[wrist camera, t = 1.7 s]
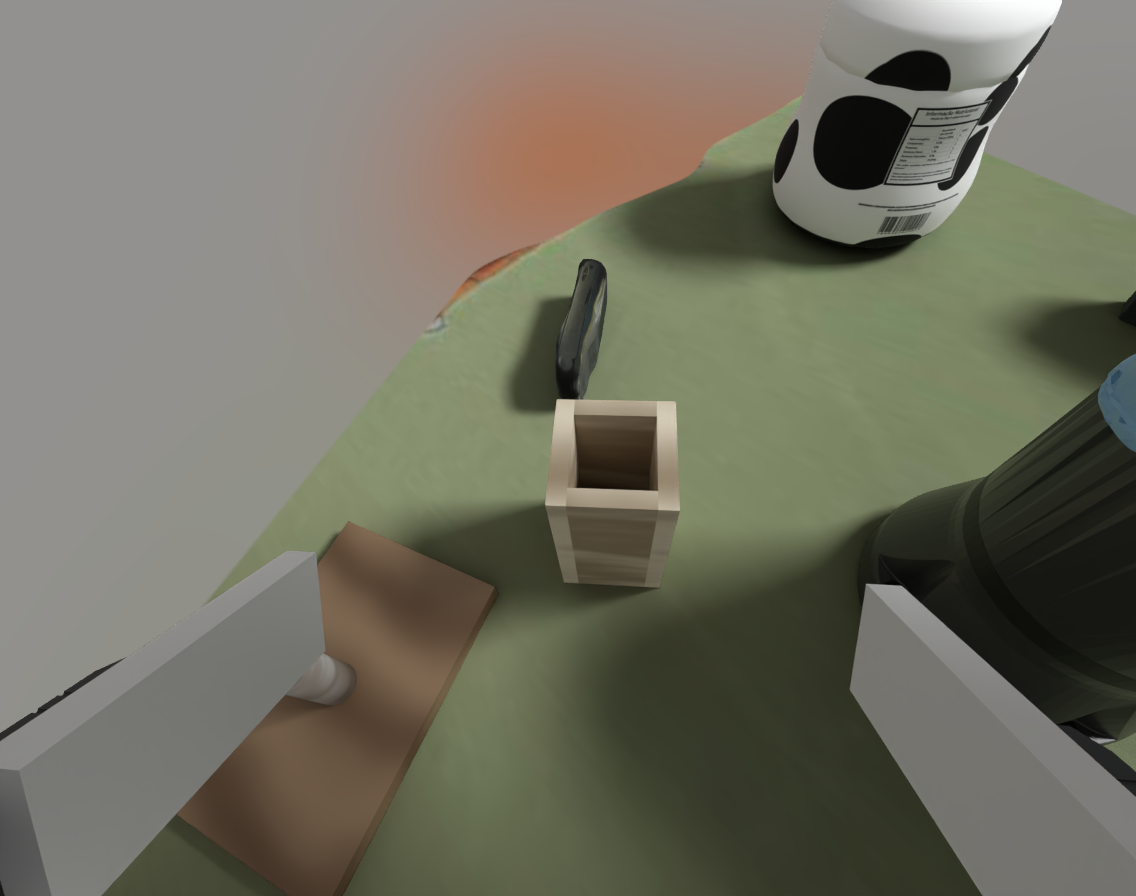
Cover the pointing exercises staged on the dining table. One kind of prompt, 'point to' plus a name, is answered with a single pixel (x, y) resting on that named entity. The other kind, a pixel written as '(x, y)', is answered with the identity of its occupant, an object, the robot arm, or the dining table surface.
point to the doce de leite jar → (901, 113)
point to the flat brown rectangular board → (345, 717)
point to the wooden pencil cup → (613, 490)
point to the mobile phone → (581, 331)
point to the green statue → (1130, 310)
